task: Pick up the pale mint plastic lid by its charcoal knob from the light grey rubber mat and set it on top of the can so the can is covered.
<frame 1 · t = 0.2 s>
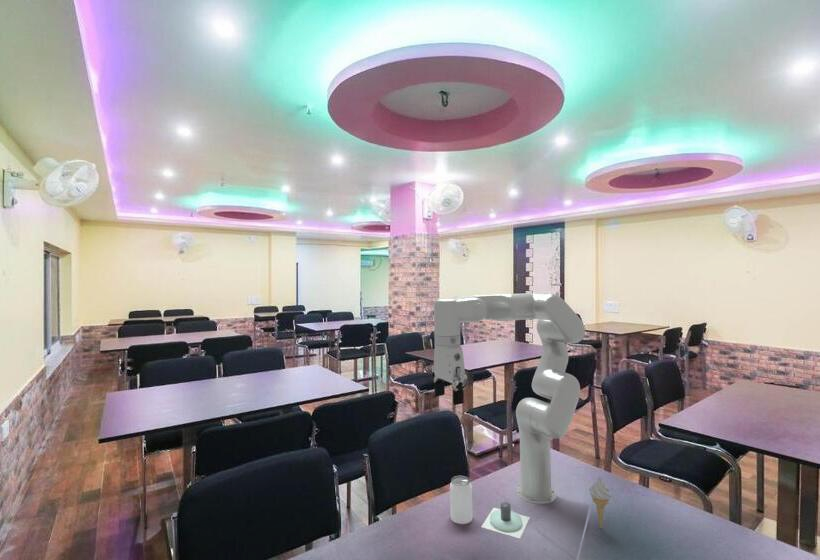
hand: (448, 399, 118), 37 cm above the table, tool pointing down, fingers open, 9 cm apart
can: (461, 521, 120), on the table
lid: (505, 522, 117), point 1 cm above the table, touching mat
mat: (505, 525, 117), on the table
ice cream cone: (600, 529, 114), on the table
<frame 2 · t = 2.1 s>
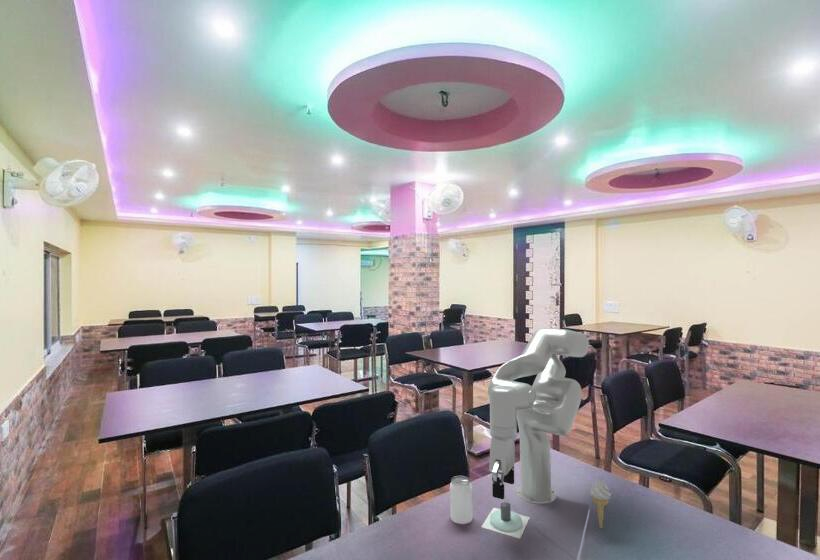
hand: (503, 490, 116), 11 cm above the table, tool pointing down, fingers open, 9 cm apart
nothing on the table moved.
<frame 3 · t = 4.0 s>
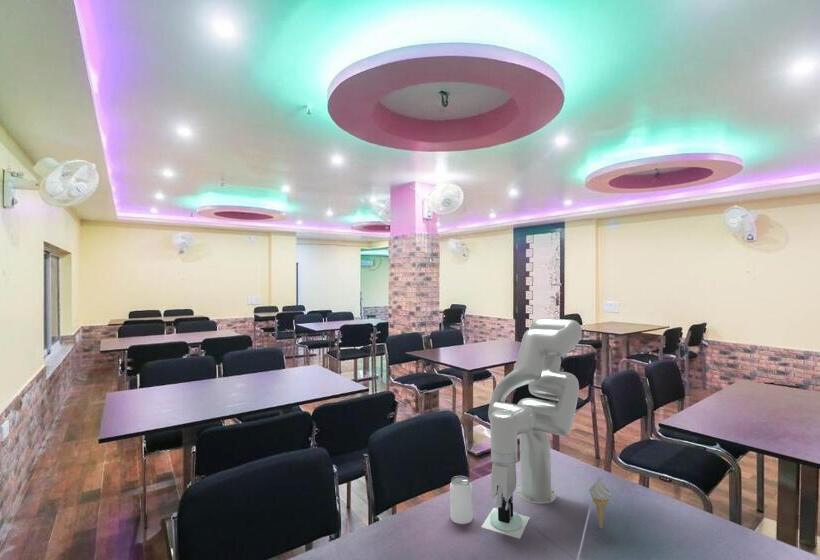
hand: (505, 517, 117), 2 cm above the table, tool pointing down, fingers closed on lid, 2 cm apart
lid: (505, 521, 117), point 1 cm above the table, touching gripper, mat
everything else where it was.
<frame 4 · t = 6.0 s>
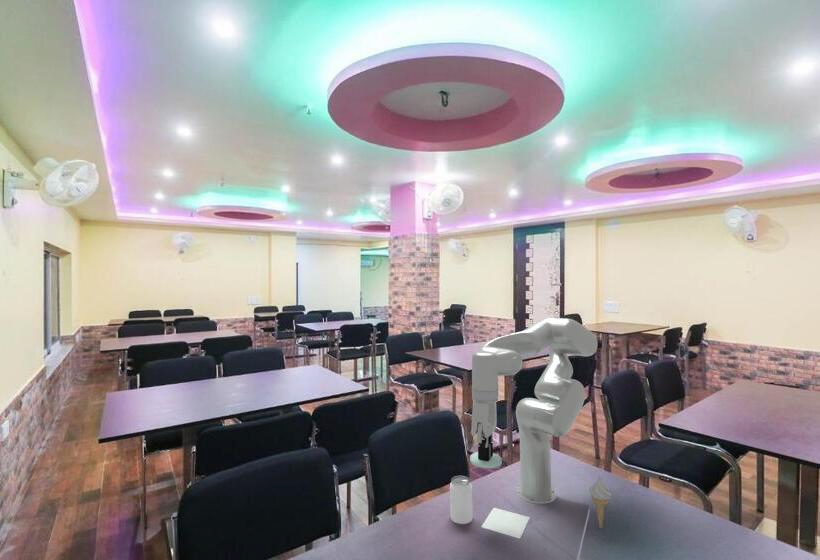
hand: (485, 457, 117), 20 cm above the table, tool pointing down, fingers closed on lid, 2 cm apart
lid: (485, 461, 117), point 18 cm above the table, touching gripper
everything else where it was.
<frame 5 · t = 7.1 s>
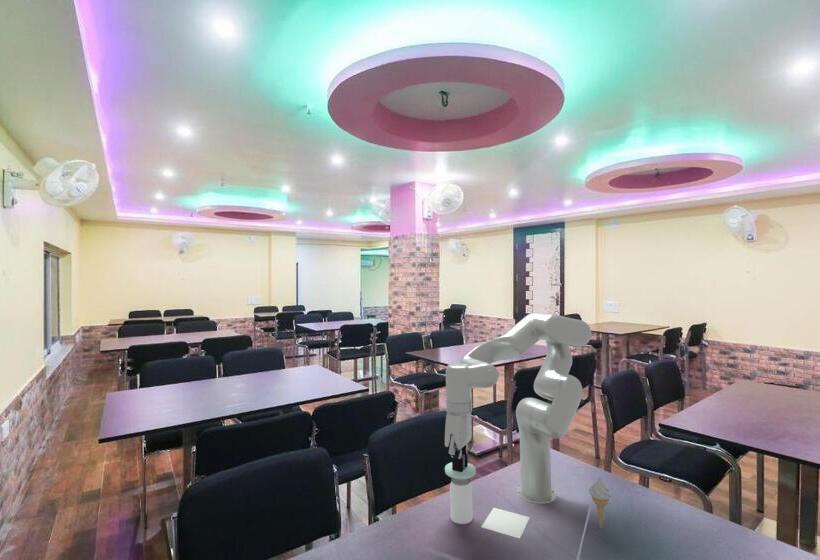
hand: (460, 467, 119), 16 cm above the table, tool pointing down, fingers closed on lid, 2 cm apart
lid: (460, 471, 119), point 15 cm above the table, touching gripper
everything else where it was.
when the fingers open (14 cm above the table, at t = 8.0 s): lid drops 1 cm, resting on can.
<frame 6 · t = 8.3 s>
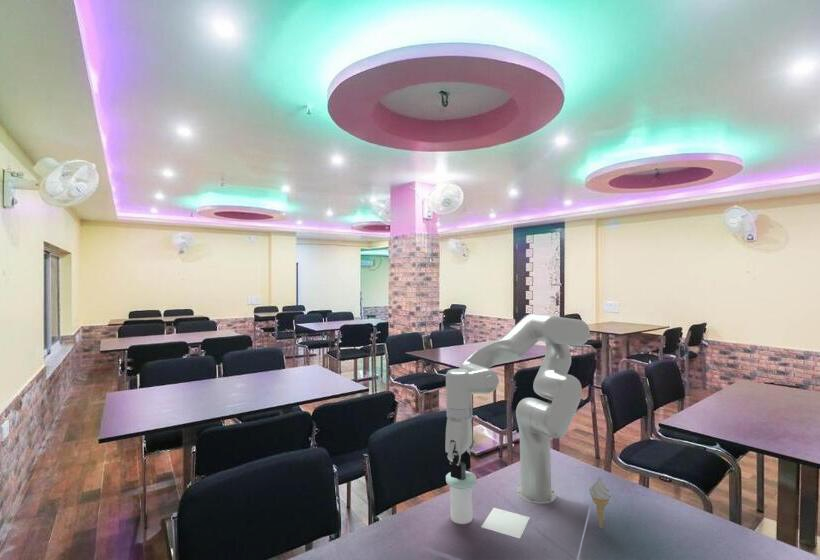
hand: (460, 471, 120), 15 cm above the table, tool pointing down, fingers open, 6 cm apart
can: (461, 521, 120), on the table, touching lid
lid: (461, 480, 120), point 12 cm above the table, touching can
everything else where it was.
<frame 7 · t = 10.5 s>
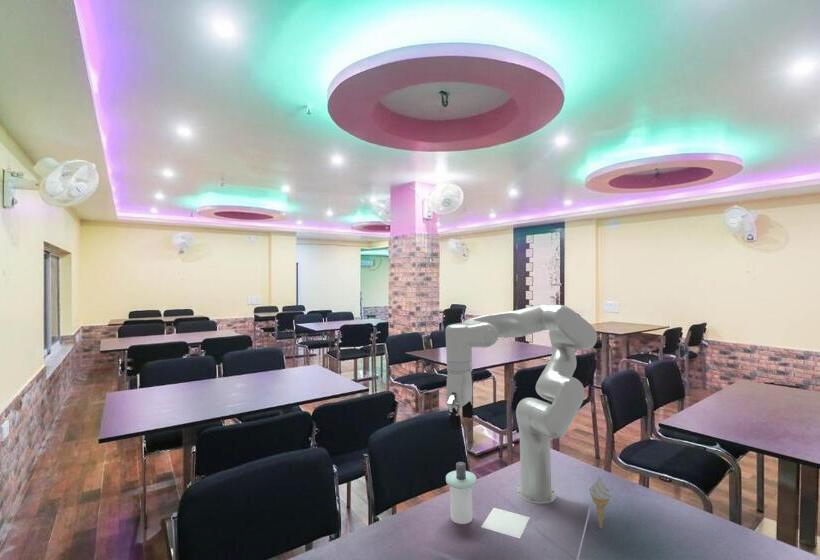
hand: (461, 422, 121), 29 cm above the table, tool pointing down, fingers open, 9 cm apart
nothing on the table moved.
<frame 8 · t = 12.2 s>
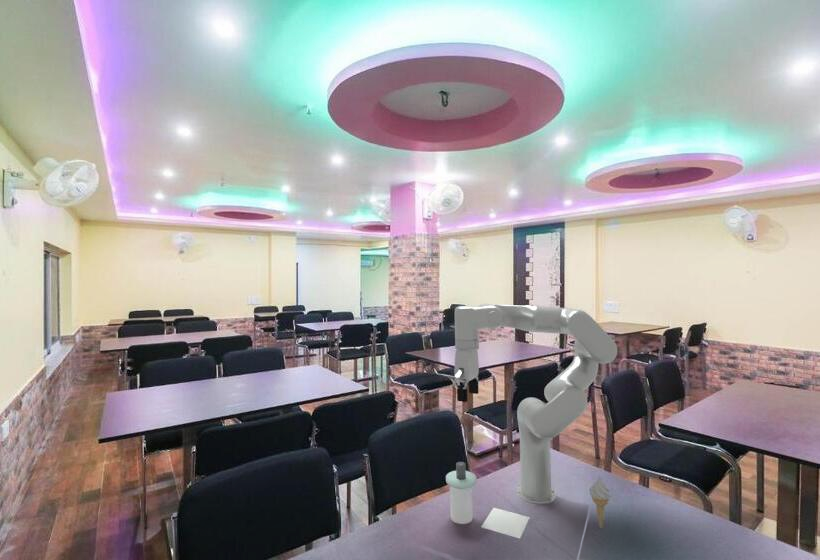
hand: (468, 397, 131), 33 cm above the table, tool pointing down, fingers open, 9 cm apart
nothing on the table moved.
at the end: lid 0.4 cm off-centre on the can, point 12.2 cm above the can's base; the gripper is holding nothing; can tilted 0° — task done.
